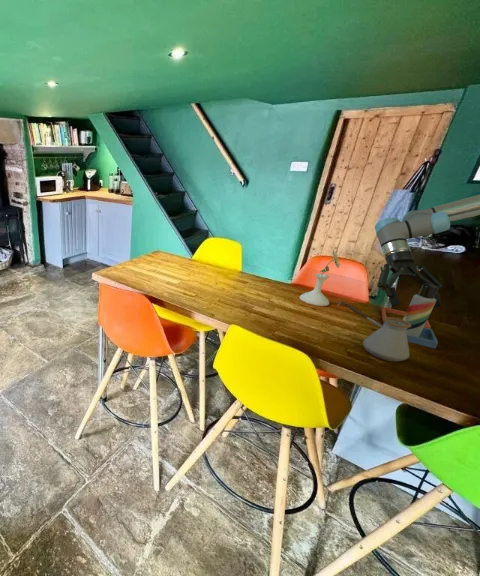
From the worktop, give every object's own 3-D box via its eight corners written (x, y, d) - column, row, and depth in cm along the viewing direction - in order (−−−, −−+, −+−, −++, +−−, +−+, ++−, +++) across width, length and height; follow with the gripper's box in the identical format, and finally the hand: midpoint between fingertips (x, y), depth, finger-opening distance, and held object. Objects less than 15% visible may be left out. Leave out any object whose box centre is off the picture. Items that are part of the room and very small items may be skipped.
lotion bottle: (393, 330, 114) (415, 281, 107) (408, 330, 114) (431, 281, 107) (406, 338, 109) (431, 287, 101) (422, 338, 109) (448, 287, 101)
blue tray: (429, 334, 112) (432, 328, 111) (435, 348, 104) (438, 342, 103) (382, 324, 120) (385, 318, 119) (385, 336, 111) (387, 330, 110)
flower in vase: (318, 310, 132) (336, 256, 122) (293, 300, 142) (308, 249, 132) (335, 305, 137) (354, 252, 128) (310, 296, 147) (326, 246, 137)
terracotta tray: (423, 320, 122) (425, 315, 121) (428, 332, 114) (431, 326, 113) (380, 312, 130) (382, 307, 129) (382, 322, 121) (384, 317, 120)
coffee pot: (406, 356, 100) (426, 316, 94) (405, 371, 93) (426, 328, 87) (329, 331, 114) (342, 295, 108) (322, 343, 107) (336, 305, 101)
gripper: (424, 260, 119) (444, 310, 111) (356, 258, 122) (371, 307, 113) (442, 250, 112) (466, 303, 104) (370, 249, 115) (387, 300, 106)
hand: (416, 305), depth 109 cm, fingers open, 13 cm apart
